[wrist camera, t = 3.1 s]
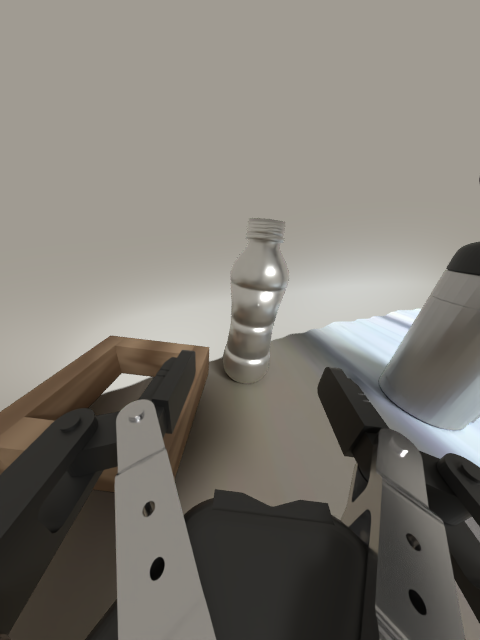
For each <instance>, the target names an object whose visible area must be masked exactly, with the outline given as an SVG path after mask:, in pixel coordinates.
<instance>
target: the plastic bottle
mask: <svg viewBox="0 0 480 640" xmlns="http://www.w3.org/2000/svg"><path fill="white" fill-rule="evenodd" d="M284 229H285V222H283V221H278V220H271V219H260V218H250V219H249V221H248V230H247V234H246V238H248V245H247V247H246V248H245V249H244V250H243V252H242V253H241V254H240V255H239V257H238V258H237V260H236V261H235V262H234V264H233V267H232V270H231V295H232V296H231V297H232V313H231V315H232V316H231V326H230V331H229V336H228V341H227V344H226V347H225V350H224V355H223V365H224V370H225V372H226V373H227V374H228V376H229V377H230V378H231V379H233V380H234V381H236V382H239V383H243V384H251V383H255V382H257V381H259V380H260V379H262V378H263V377H264V376H265V374H266V372H267V370H268V368H269V362H270V342H271V334H272V329H273V325H274V321H275V318H276V314H277V311H278V308H279V305H280V303H281V300H282V298H283V295H284V293H285V288H286V287H287V284H288V281H289V270H288V268H287V265H286V262H285V260H284V258H283V256H282V253H281V251H280V243H281V242H282V243H283V241H284V238H283V235H284Z"/></svg>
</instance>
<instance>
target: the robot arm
mask: <svg viewBox="0 0 480 640" xmlns="http://www.w3.org/2000/svg"><path fill="white" fill-rule="evenodd" d="M479 182H480V178H479ZM447 269H448V270H445V271H444V273H443V275H442V277H441V278H440V280H439V281H438V283H437V284H436V286H435V288H434V289H433V291H432V293H431V295H430V296H429V298H428V300H427V301H426V303H425V305H424V307H423V308H422V309H421V311H420V313H419V314H418V316H417V318H416V319H415V321H414V322H413V324H412V326H411V327H410V329H409V331H408V332H407V334H406V336H405V337H404V339H403V341H402V342H401V344H400V345H399V347H398V349H397V350H396V352H395V354H394V355H393V357H392V359H391V360H390V362H389V363H388V365H387V367H386V368H385V370H384V372H383V373H382V375H381V377H380V378H379V385H380V387H381V389H382V390H383V392H384V393H385V394H386V395H387V396H388V397H389V398H390V400H392V401H393V402H394V403H395V404H396V405H398V406H399V407H400V408H402V409H403V410H405V411H406V412H408V413H409V414H411V415H413V416H414V417H416V418H418V419H420V420H422V421H424V422H426V423H428V424H431V425H433V426H436V427H439V428H442V429H446V430H454V431H457V430H462V429H463V428H465V427H466V426H467V425H468V424H469V423H470V422H472V423H473V422H475V421H476V420H477V419H478V418H479V417H480V242H476V243H471V244H468V245H465V246H463V247H462V248H460V249H459V250H458V251H457V252H456V254H455V255H454V256H453V258H452V260H451V262H450V263H449V265H448V266H447ZM195 373H196V359H195V351H190V350H182V351H181V352H180V354H179V355H178V357H177V358H176V357H171V358H170V359H168V360H167V361H166V362H164V364H163V365H162V367H161V368H160V370H159V371H158V372H157V374H156V376H155V377H154V378H153V380H152V381H151V383H150V384H149V385H148V387H147V388H146V390H145V391H144V393H143V394H142V395H141V397H140V398H139V400H136V401H134V402H131V403H129V404H128V405H126V406H125V407H124V408H123V409H122V410H121V411H119V412H115V413H109V414H103V415H98V416H95V414H94V412H93V410H91V409H89V408H80V409H75V410H72V411H70V412H68V413H66V414H64V415H62V416H61V417H59V418H58V419H56V420H55V421H54V422H53V423H52V424H51V425H50V426H49V427H48V428H47V429H46V430H45V431H44V432H43V433H42V434H41V435H40V436H39V437H38V438H37V439H36V440H35V441H34V442H33V443H32V444H31V445H30V446H29V447H28V448H27V449H26V450H25V451H24V452H23V453H22V454H21V455H20V456H19V457H18V458H17V459H16V460H15V461H14V462H13V463H12V464H11V465H10V466H8V467H7V468H6V469H5V470H4V471H3V472H2V473H1V474H0V640H11V639H10V637H9V635H8V634H9V632H10V630H11V629H12V627H13V625H14V623H15V622H16V620H17V618H18V617H19V615H20V613H21V611H22V610H23V608H24V606H25V605H26V603H27V601H28V599H29V598H30V596H31V594H32V592H33V591H34V589H35V587H36V586H37V584H38V582H39V580H40V579H41V577H42V575H43V574H44V572H45V570H46V568H47V567H48V565H49V563H50V562H51V560H52V558H53V556H54V555H55V553H56V551H57V550H58V548H59V546H60V544H61V543H62V541H63V539H64V538H65V536H66V534H67V532H68V531H69V529H70V527H71V525H72V524H73V522H74V520H75V519H76V517H77V515H78V513H79V512H80V510H81V508H82V507H83V505H84V503H85V501H86V500H87V498H88V496H89V495H90V493H91V491H92V489H93V488H94V486H95V484H96V483H97V481H98V479H99V477H100V476H101V474H102V472H103V470H106V469H110V468H114V467H118V473H117V474H116V476H115V523H116V565H117V599H116V601H115V602H114V603H113V605H112V606H111V607H110V608H109V610H108V611H107V612H106V613H105V615H104V616H103V617H102V619H101V620H100V621H99V622H98V624H97V625H96V626H95V627H94V629H93V630H92V631H91V633H90V634H89V635H88V636H87V638H86V639H85V640H465V635H464V630H463V624H462V619H461V613H460V608H459V602H458V597H457V591H456V586H455V581H456V582H457V584H458V586H459V588H460V589H461V591H462V593H463V595H464V597H465V598H466V600H467V602H468V604H469V605H470V607H471V609H472V611H473V612H474V614H475V616H476V618H477V620H478V621H479V623H480V542H479V541H478V540H477V538H476V537H475V535H474V534H473V533H472V531H471V530H470V528H469V527H468V526H467V524H466V523H465V520H467V519H468V518H470V517H473V518H474V520H475V521H476V522H477V524H478V525H479V526H480V468H479V467H478V466H477V465H475V464H474V463H472V462H471V461H469V460H467V459H465V458H464V457H461V456H459V455H456V454H452V453H448V454H446V455H445V456H443V457H442V458H441V459H439V458H436V457H434V456H431V455H429V454H426V453H424V452H421V451H419V450H418V449H417V448H416V447H415V445H414V444H413V443H412V442H411V441H410V440H408V439H407V438H406V437H405V436H403V435H402V434H400V433H398V432H396V431H394V430H391V429H389V427H388V426H387V425H386V423H385V422H384V420H383V419H382V418H381V416H380V415H379V414H378V412H377V411H376V409H375V408H374V407H373V405H372V404H371V403H370V402H369V400H368V399H367V397H366V396H365V395H364V393H363V392H362V390H361V389H360V388H359V386H358V385H357V384H356V383H354V382H353V381H352V380H351V379H350V378H347V376H346V375H345V374H344V372H343V371H342V370H341V369H339V368H331V367H326V368H325V370H324V372H323V375H322V377H321V379H320V382H319V384H318V396H319V398H320V401H321V403H322V405H323V408H324V410H325V412H326V415H327V417H328V419H329V422H330V424H331V426H332V429H333V431H334V433H335V436H336V438H337V440H338V443H339V445H340V447H341V450H342V452H343V454H344V456H349V457H354V458H355V460H356V462H357V463H356V464H355V466H354V470H353V475H352V481H351V486H350V491H349V496H348V501H347V506H346V509H345V511H344V513H343V515H342V518H341V520H339V519H337V518H336V517H334V516H332V515H331V513H330V509H329V506H328V503H321V502H313V501H305V500H298V501H294V502H290V503H286V504H283V505H279V506H275V507H271V506H268V505H266V504H264V503H262V502H260V501H258V500H256V499H254V498H252V497H250V496H248V495H246V494H244V493H240V492H232V491H224V490H216V489H215V493H214V498H213V499H209V500H206V501H204V502H201V503H199V504H198V505H196V506H194V507H193V508H192V509H190V510H189V511H188V512H187V513H186V514H185V515H184V516H183V512H182V508H181V504H180V500H179V496H178V493H177V489H176V485H175V481H174V477H173V473H172V469H171V465H170V461H169V457H168V454H167V450H166V448H165V445H164V441H163V438H164V435H165V433H167V434H172V433H173V431H174V428H175V426H176V423H177V421H178V418H179V416H180V413H181V411H182V409H183V406H184V404H185V401H186V399H187V396H188V394H189V391H190V389H191V386H192V384H193V381H194V378H195ZM454 579H455V580H454Z"/></svg>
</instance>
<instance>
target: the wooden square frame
mask: <svg viewBox="0 0 480 640" xmlns="http://www.w3.org/2000/svg"><path fill="white" fill-rule="evenodd" d="M182 350H190V351H195V359H196V373H195V378H194V381H193V384H192V386H191V389H190V391H189V394H188V396H187V399H186V401H185V404H184V406H183V409H182V411H181V413H180V416H179V418H178V421H177V423H176V426H175V428H174V431H173V433H172V434H167V433H165V435H164V438H163V441H164V445H165V448H166V450H167V454H168V457H169V461H170V465H171V469H172V473H173V477H174V480H175V476H176V473H177V470H178V467H179V464H180V461H181V458H182V454H183V451H184V448H185V445H186V442H187V439H188V436H189V432H190V429H191V426H192V423H193V420H194V417H195V413H196V410H197V407H198V404H199V401H200V398H201V395H202V391H203V388H204V385H205V382H206V379H207V376H208V371H209V347H202V346H194V345H185V344H177V343H168V342H160V341H152V340H143V339H135V338H127V337H118V336H109V337H108V338H107V339H105V340H104V341H102V342H101V343H99V344H98V345H96V346H95V347H94V348H92V349H91V350H89V351H88V352H86V353H85V354H83V355H82V356H80V357H79V358H78V359H76V360H75V361H73V362H72V363H70V364H69V365H68V366H66V367H65V368H63V369H62V370H60V371H59V372H57V373H56V374H55V375H53V376H52V377H50V378H49V379H47V380H46V381H44V382H43V383H41V384H40V385H39V386H37V387H36V388H34V389H33V390H31V391H30V392H28V393H27V394H26V395H24V396H23V397H21V398H20V399H18V400H17V401H15V402H14V403H13V404H11V405H10V406H8V407H7V408H5V409H4V410H2V411H1V412H0V474H1V473H2V472H3V471H4V470H5V469H6V468H7V467H8V466H10V465H11V464H12V463H13V462H14V461H15V460H16V459H17V458H18V457H19V456H20V455H21V454H22V453H23V452H24V451H25V450H26V449H27V448H28V447H29V446H30V445H31V444H32V443H33V442H34V441H35V440H36V439H37V438H38V437H39V436H40V435H41V434H42V433H43V432H44V431H45V430H46V429H47V428H48V427H49V426H50V425H51V424H52V423H53V422H54V421H55V420H56V419H58V418H59V417H61V416H62V415H64V414H66V413H68V412H70V411H72V410H75V409H80V408H89V407H90V405H91V404H92V403H93V402H94V401H95V400H96V399H97V398H98V397H99V396H100V395H101V394H102V393H103V392H104V391H105V390H106V389H107V388H108V387H109V386H110V385H111V384H112V383H113V382H114V381H115V379H116V378H117V377H118V376H119V375H120V374H121V373H126V374H135V375H143V376H151V377H155V376H156V374H157V372H158V371H159V370H160V368H161V367H162V365H163V364H164V362H166V361H167V360H168V359H170V358H171V357H176V358H177V357H178V355H179V354H180V352H181V351H182ZM117 473H118V467H114V468H110V469H106V470H103V472H102V474H101V476H100V477H99V479H98V481H97V483H96V484H95V486H94V488H93V489H94V490H101V491H109V492H115V476H116V474H117Z"/></svg>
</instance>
